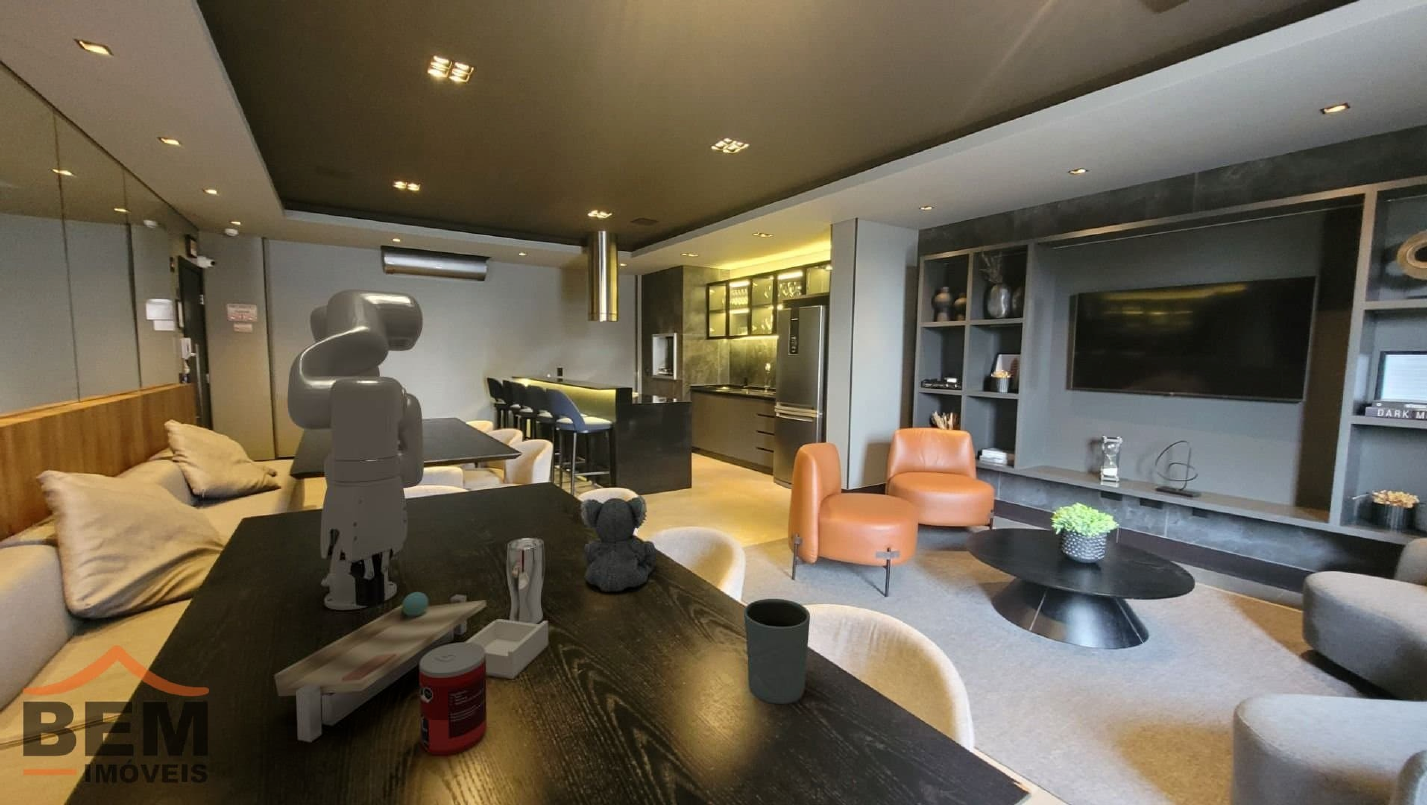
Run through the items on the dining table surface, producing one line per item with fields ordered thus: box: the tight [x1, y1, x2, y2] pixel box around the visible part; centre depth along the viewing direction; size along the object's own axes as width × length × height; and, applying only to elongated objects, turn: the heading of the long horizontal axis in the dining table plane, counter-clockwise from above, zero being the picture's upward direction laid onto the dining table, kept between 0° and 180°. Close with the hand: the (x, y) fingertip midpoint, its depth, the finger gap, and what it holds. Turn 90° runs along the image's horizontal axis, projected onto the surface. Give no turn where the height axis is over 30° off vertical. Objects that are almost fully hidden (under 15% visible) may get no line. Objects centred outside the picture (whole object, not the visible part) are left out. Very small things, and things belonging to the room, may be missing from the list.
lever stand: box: [295, 594, 468, 743], centre depth 86 cm, size 31×2×7 cm, turn 167°
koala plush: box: [579, 495, 658, 593], centre depth 125 cm, size 17×18×20 cm
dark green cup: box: [743, 598, 811, 705], centre depth 84 cm, size 10×10×12 cm
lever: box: [273, 599, 487, 698], centre depth 85 cm, size 26×14×4 cm, turn 167°
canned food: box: [418, 641, 488, 756], centre depth 72 cm, size 8×8×11 cm
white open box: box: [465, 618, 549, 680], centre depth 92 cm, size 11×11×4 cm
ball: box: [401, 591, 429, 617], centre depth 95 cm, size 4×4×4 cm
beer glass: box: [505, 537, 546, 624], centre depth 105 cm, size 7×7×15 cm
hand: (370, 603), depth 74 cm, fingers closed
